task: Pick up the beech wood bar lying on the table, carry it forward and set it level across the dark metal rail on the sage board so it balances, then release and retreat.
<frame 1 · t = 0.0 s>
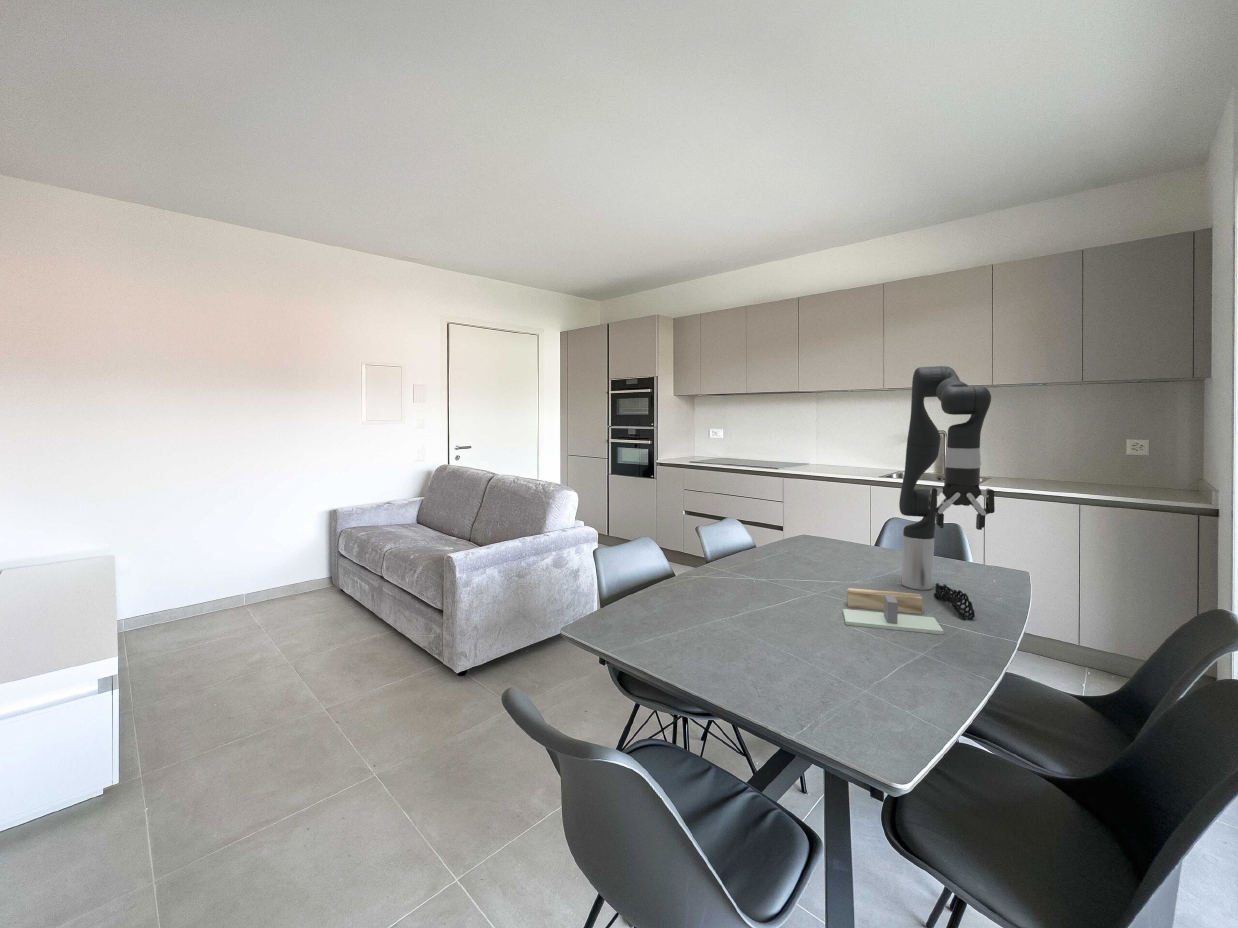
hand: (959, 528, 137), 29 cm above the table, fingers open, 8 cm apart
decorative element: (951, 608, 163), on the table
plank: (883, 609, 162), on the table
fulcrum: (890, 622, 151), on the table
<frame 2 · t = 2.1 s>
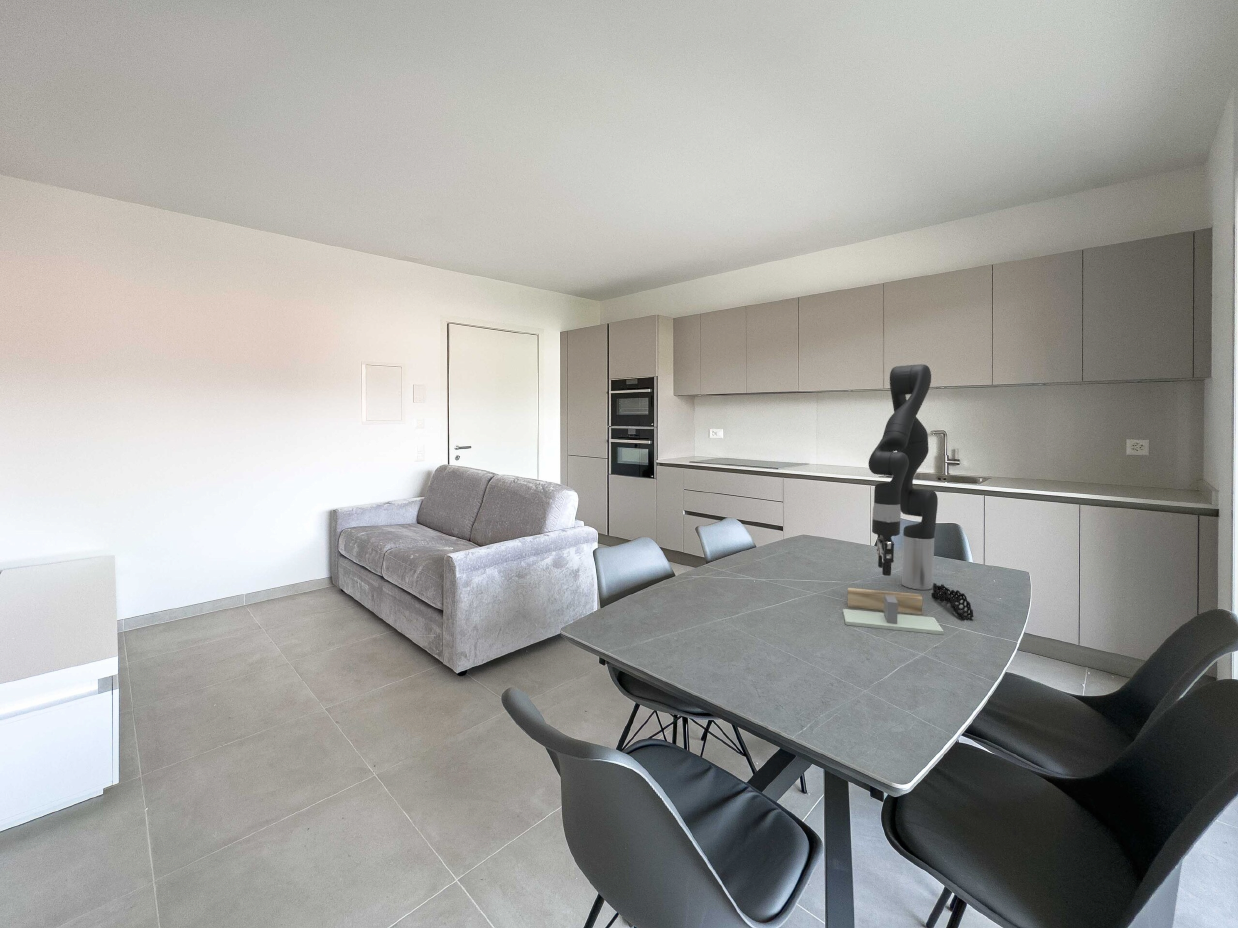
hand: (884, 571, 161), 11 cm above the table, fingers open, 8 cm apart
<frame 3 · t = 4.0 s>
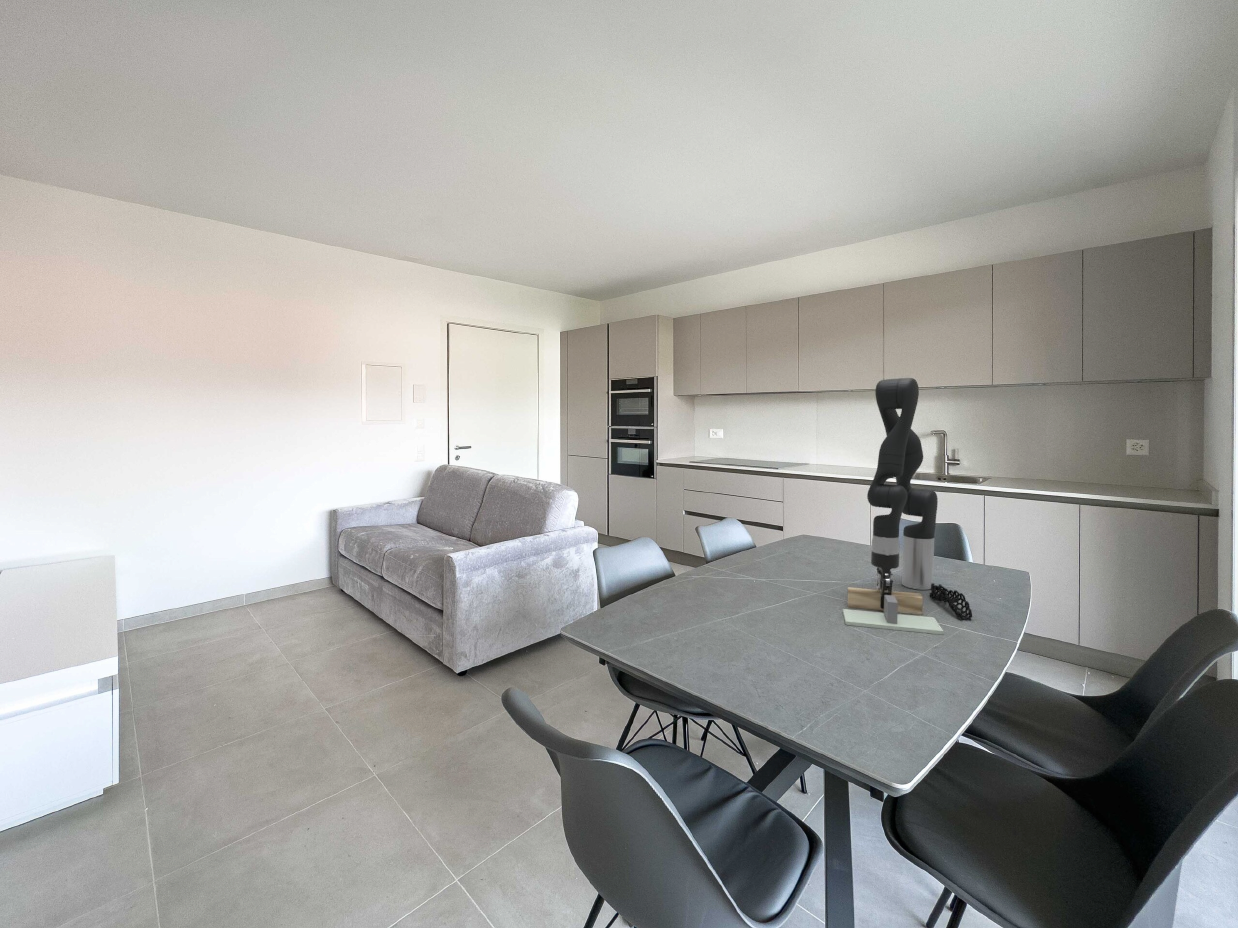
hand: (883, 605, 162), 1 cm above the table, fingers closed on plank, 4 cm apart
plank: (883, 608, 162), on the table, touching gripper
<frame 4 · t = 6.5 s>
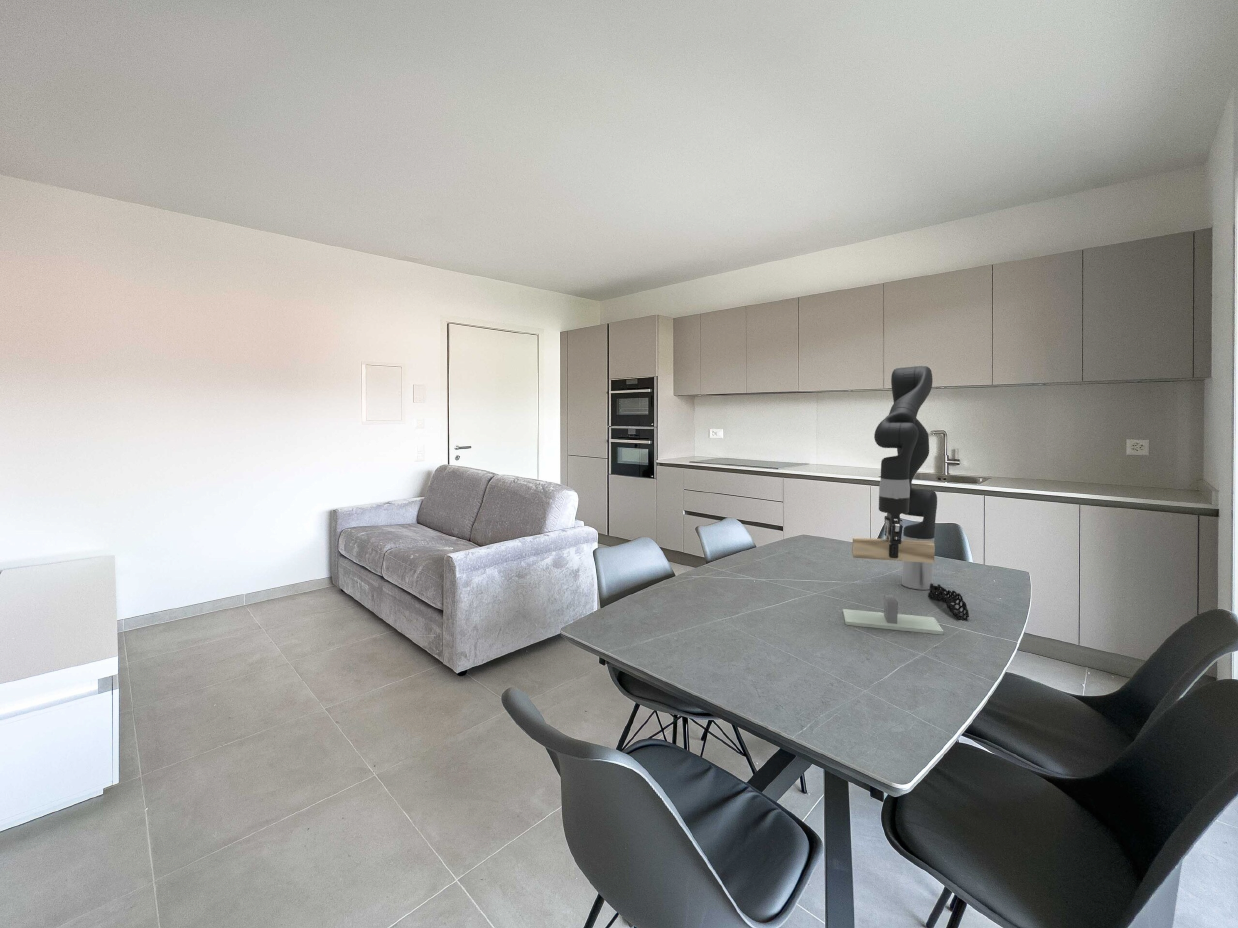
hand: (892, 555, 149), 19 cm above the table, fingers closed on plank, 4 cm apart
plank: (891, 558, 149), point 19 cm above the table, touching gripper
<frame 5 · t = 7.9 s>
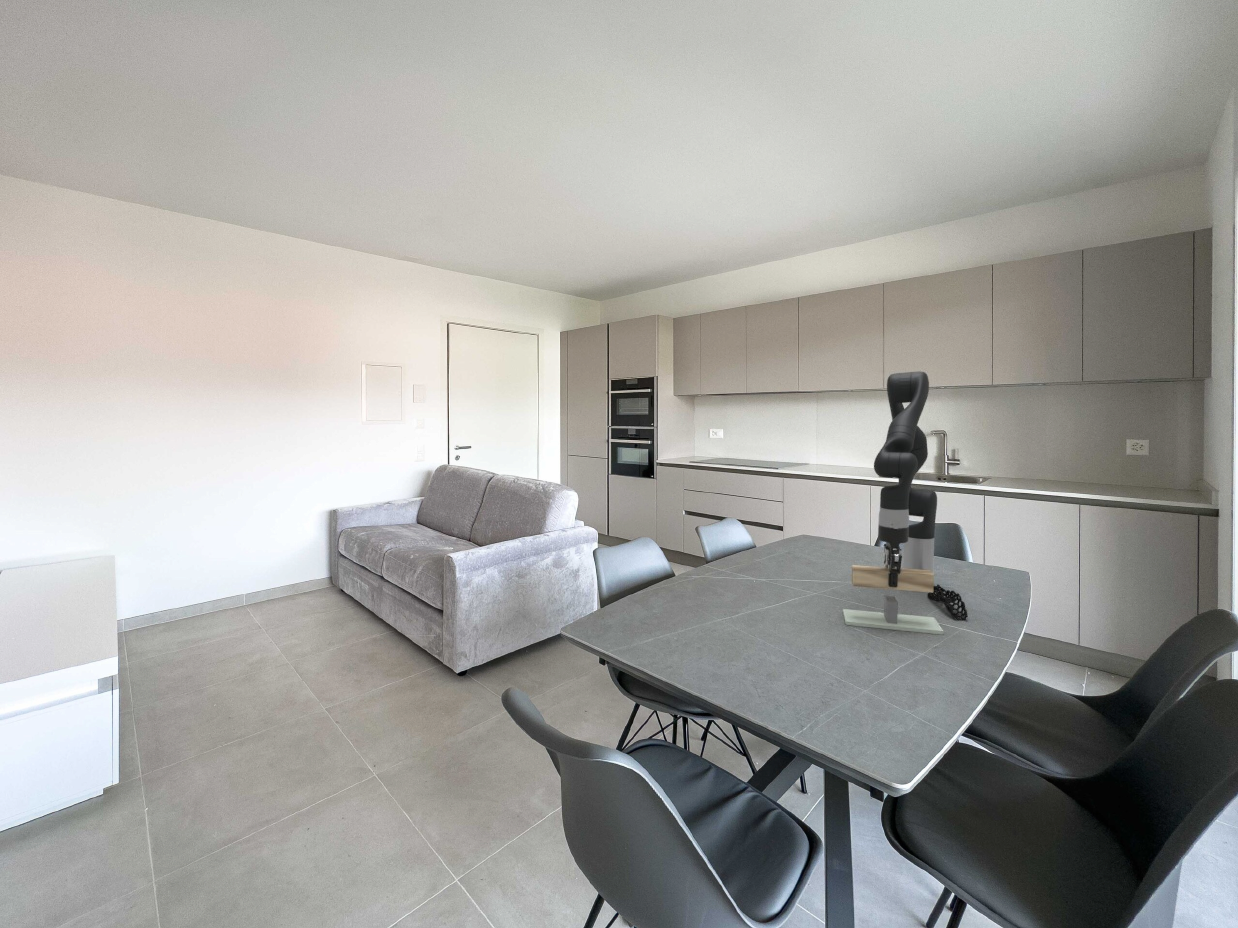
hand: (891, 584, 150), 11 cm above the table, fingers closed on plank, 4 cm apart
plank: (891, 587, 150), point 10 cm above the table, touching gripper
when the fingers open (9 cm above the table, at t = 9.2 s): plank stays where it is, resting on fulcrum.
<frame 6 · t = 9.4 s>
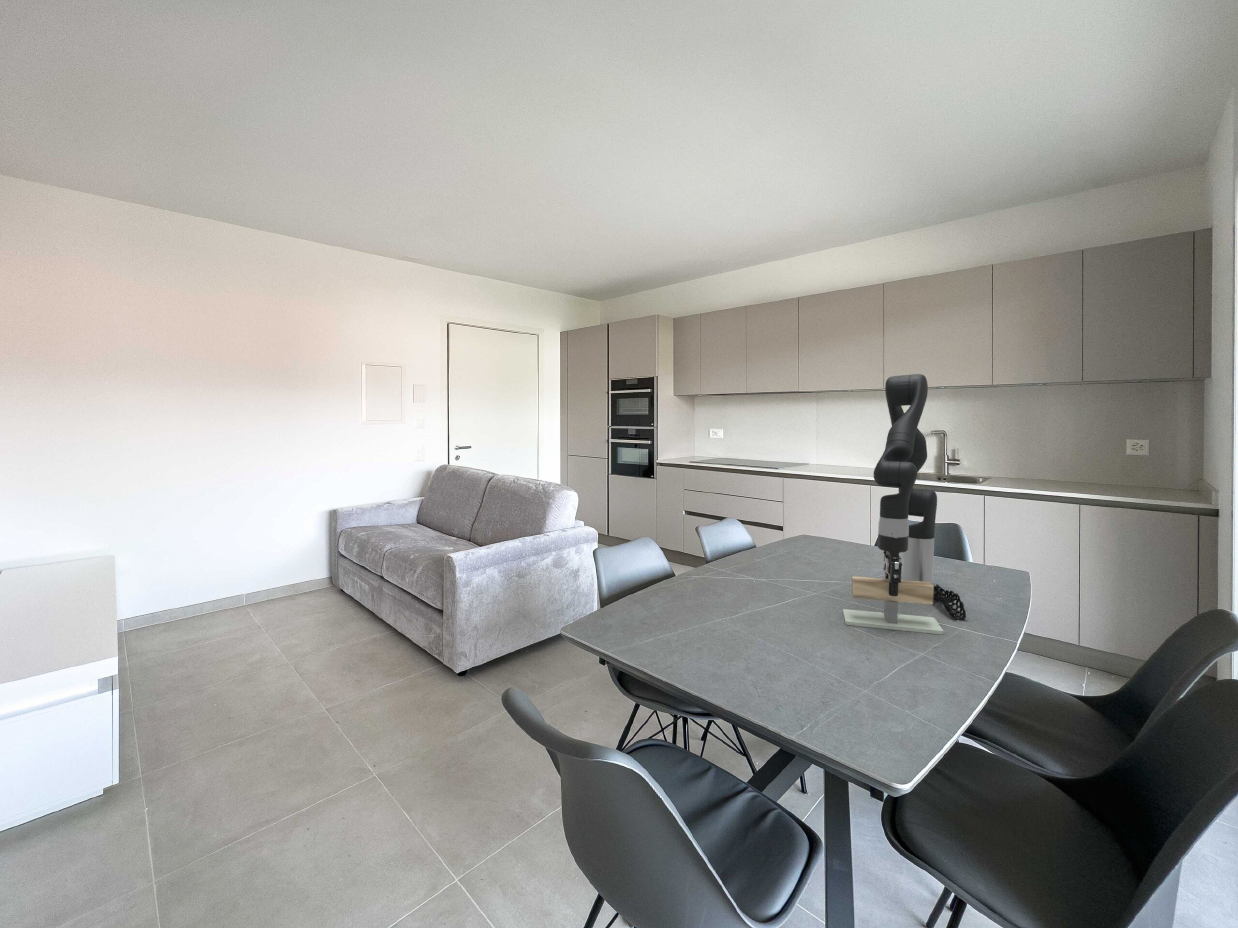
hand: (891, 591, 150), 9 cm above the table, fingers open, 5 cm apart
plank: (890, 598, 150), point 7 cm above the table, touching fulcrum
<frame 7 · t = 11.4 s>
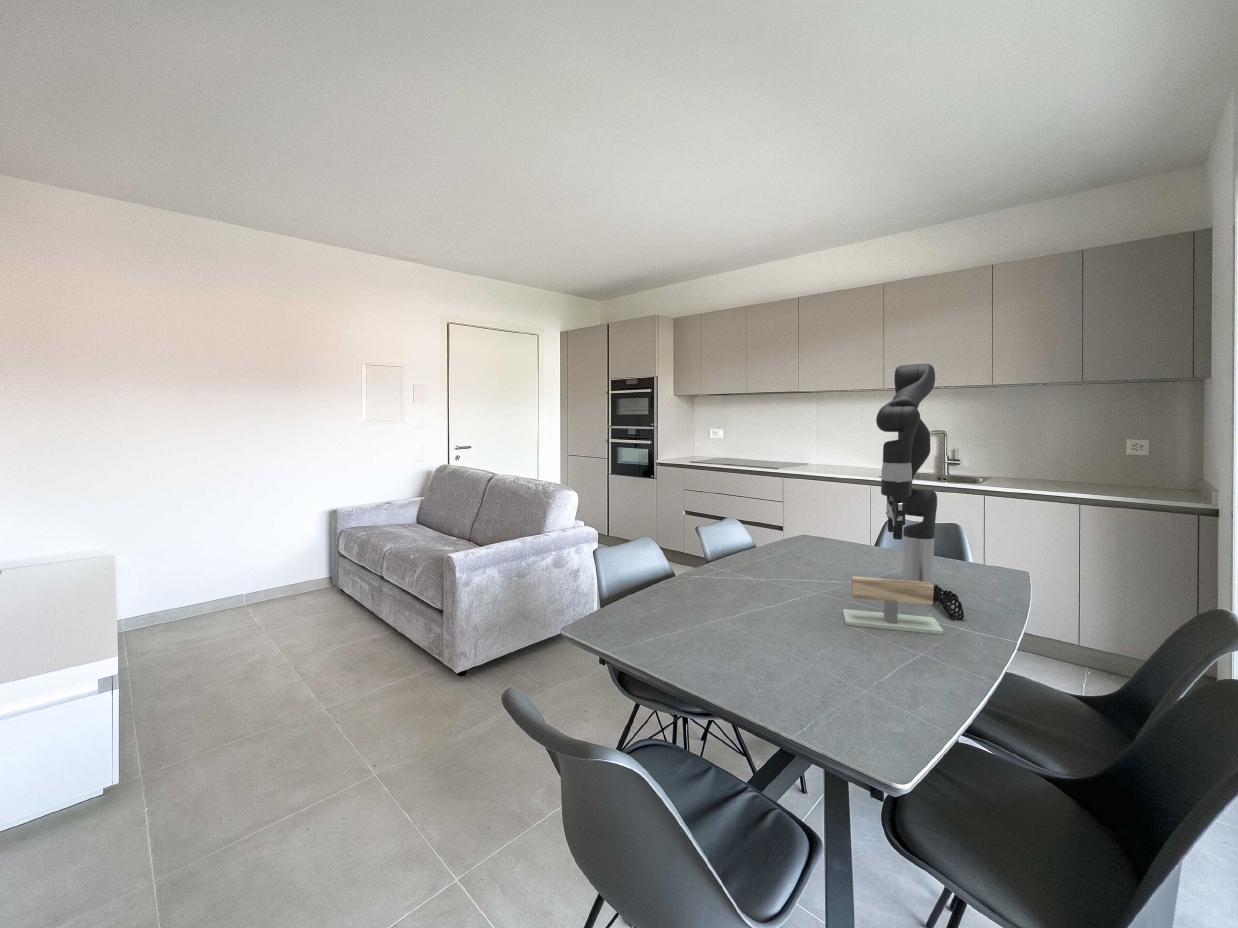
hand: (894, 535, 151), 25 cm above the table, fingers open, 8 cm apart
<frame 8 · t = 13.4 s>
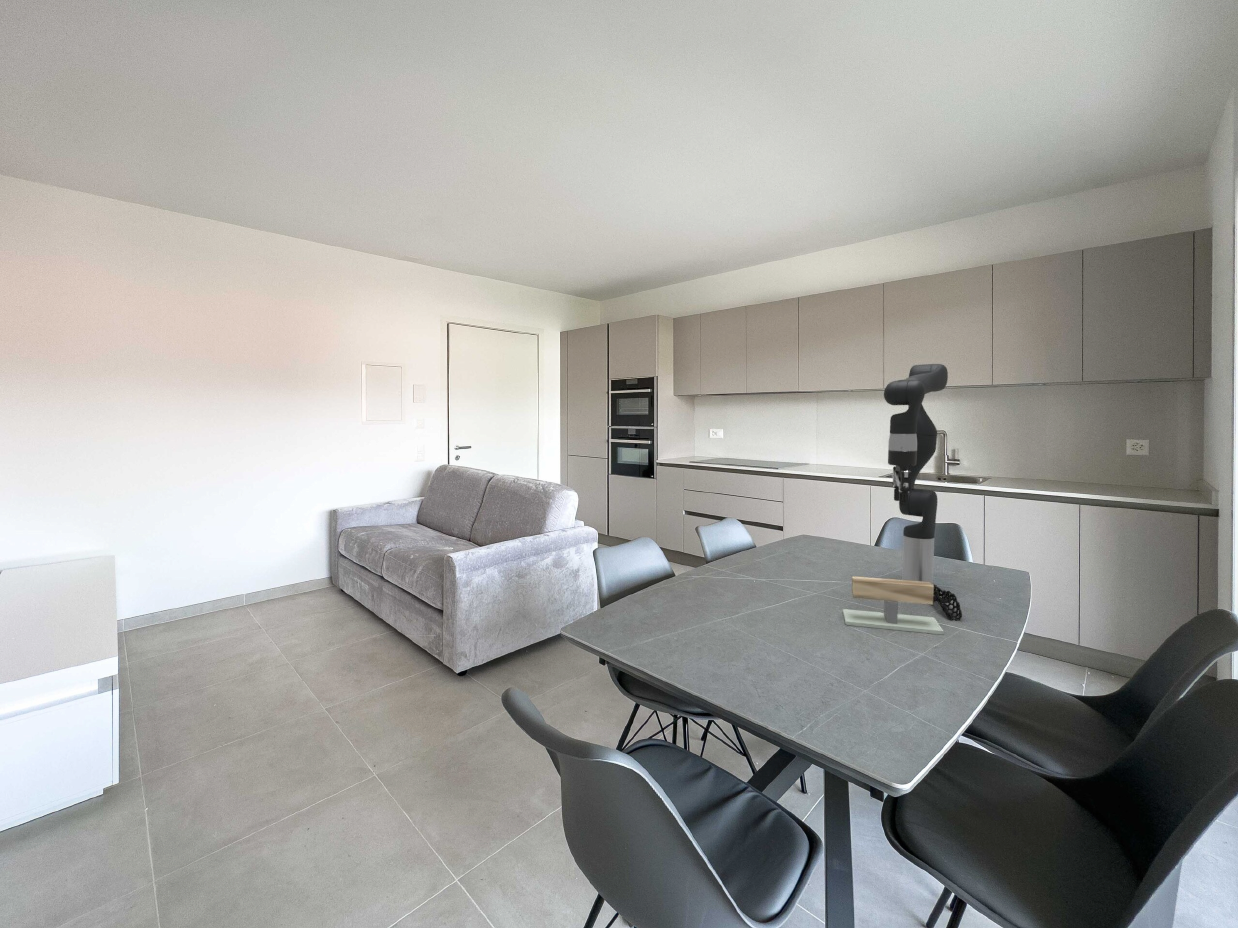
hand: (900, 503, 160), 32 cm above the table, fingers open, 8 cm apart
at the end: plank 0.0 cm off-centre on the fulcrum, point 7.0 cm above the fulcrum's base; plank tilted 0°; plank touching fulcrum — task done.
